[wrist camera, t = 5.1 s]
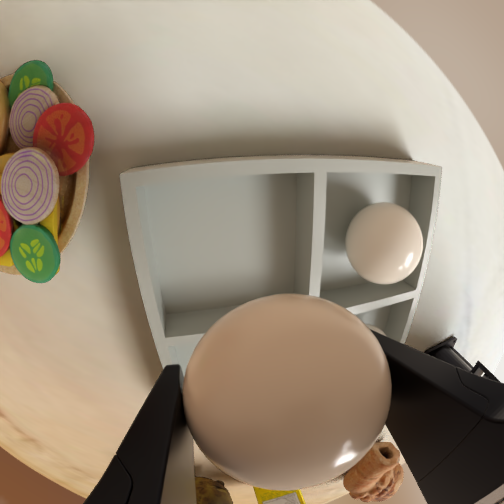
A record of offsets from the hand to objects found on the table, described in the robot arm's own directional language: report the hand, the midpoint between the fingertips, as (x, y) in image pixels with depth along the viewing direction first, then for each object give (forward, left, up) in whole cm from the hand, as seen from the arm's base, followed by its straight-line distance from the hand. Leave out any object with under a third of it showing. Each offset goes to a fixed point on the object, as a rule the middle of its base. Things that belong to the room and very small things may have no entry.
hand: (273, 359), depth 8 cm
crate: (-5, +5, -10) cm, 12 cm away
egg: (-9, 0, -9) cm, 13 cm away
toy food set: (+13, -7, -10) cm, 18 cm away
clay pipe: (-24, +48, -10) cm, 55 cm away
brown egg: (0, 0, -1) cm, 1 cm away
